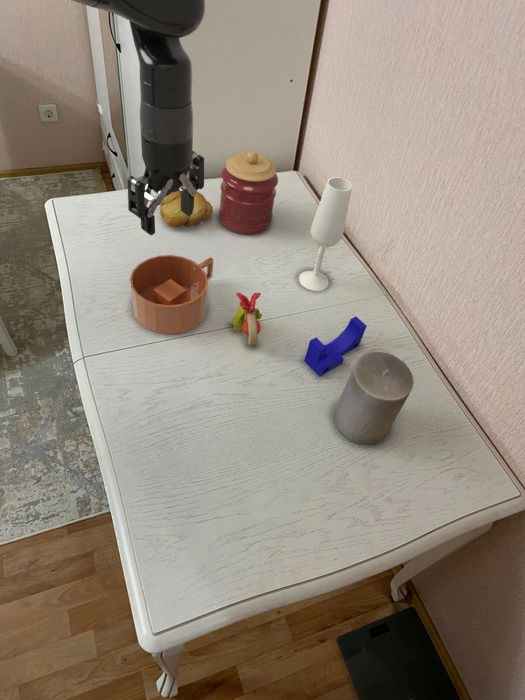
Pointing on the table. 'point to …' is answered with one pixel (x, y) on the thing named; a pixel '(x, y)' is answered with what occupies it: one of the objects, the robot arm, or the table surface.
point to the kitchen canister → (247, 193)
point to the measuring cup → (183, 274)
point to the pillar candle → (373, 397)
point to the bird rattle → (248, 318)
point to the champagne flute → (328, 227)
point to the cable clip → (334, 348)
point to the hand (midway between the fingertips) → (168, 222)
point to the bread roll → (176, 217)
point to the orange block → (170, 294)
